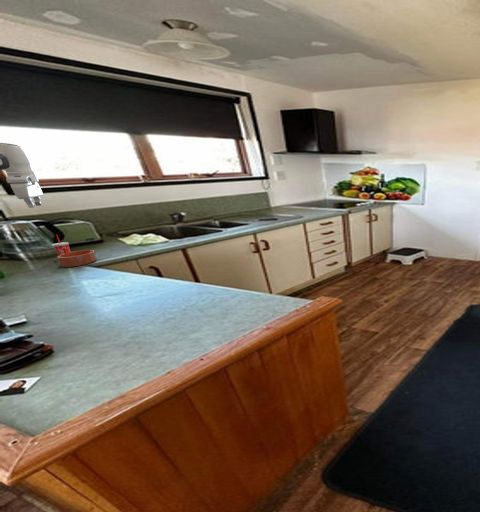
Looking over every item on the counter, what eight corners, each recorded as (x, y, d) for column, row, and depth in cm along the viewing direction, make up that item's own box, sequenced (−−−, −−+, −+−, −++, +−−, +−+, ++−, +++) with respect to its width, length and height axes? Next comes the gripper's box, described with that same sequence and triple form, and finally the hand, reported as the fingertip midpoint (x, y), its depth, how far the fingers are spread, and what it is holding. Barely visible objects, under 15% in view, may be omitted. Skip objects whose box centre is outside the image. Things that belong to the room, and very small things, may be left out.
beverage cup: (55, 261, 149) (45, 236, 144) (62, 258, 154) (52, 234, 150) (70, 259, 151) (60, 235, 147) (77, 256, 157) (67, 232, 152)
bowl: (57, 269, 136) (53, 259, 135) (65, 262, 146) (61, 253, 145) (94, 263, 144) (90, 254, 142) (99, 257, 154) (95, 248, 152)
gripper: (22, 178, 140) (34, 205, 145) (4, 179, 125) (17, 209, 129) (40, 177, 144) (51, 203, 148) (25, 178, 128) (37, 208, 133)
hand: (35, 206), depth 139 cm, fingers open, 8 cm apart
